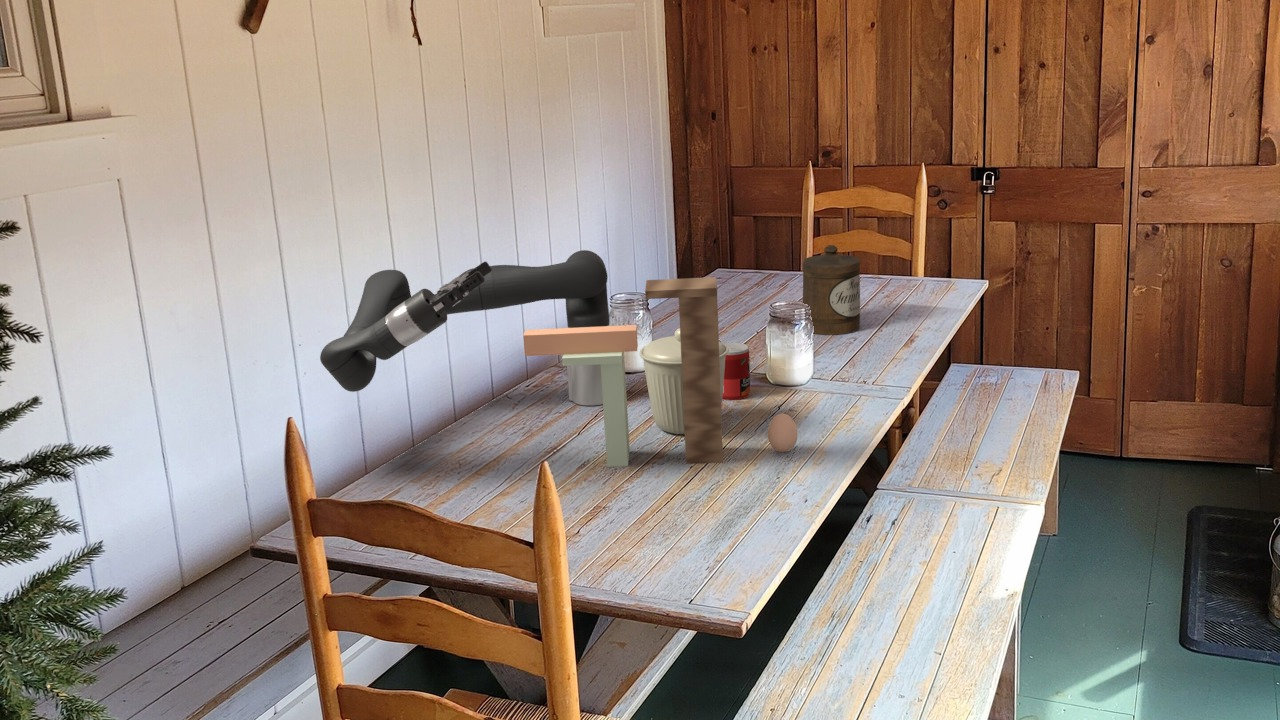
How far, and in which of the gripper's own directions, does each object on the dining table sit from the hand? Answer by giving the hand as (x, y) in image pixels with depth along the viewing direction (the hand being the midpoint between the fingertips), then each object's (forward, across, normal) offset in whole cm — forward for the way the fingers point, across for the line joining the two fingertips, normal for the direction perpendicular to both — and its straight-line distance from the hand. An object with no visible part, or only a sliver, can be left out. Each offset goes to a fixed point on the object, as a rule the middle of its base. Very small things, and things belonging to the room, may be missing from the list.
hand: (485, 270), depth 223 cm
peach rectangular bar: (+6, 0, +23) cm, 23 cm away
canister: (+11, +17, +52) cm, 55 cm away
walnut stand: (+11, 0, +51) cm, 52 cm away
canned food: (+19, +36, +57) cm, 70 cm away
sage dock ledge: (-4, 0, +42) cm, 43 cm away
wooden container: (+44, +89, +72) cm, 123 cm away
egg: (+26, 0, +61) cm, 66 cm away
